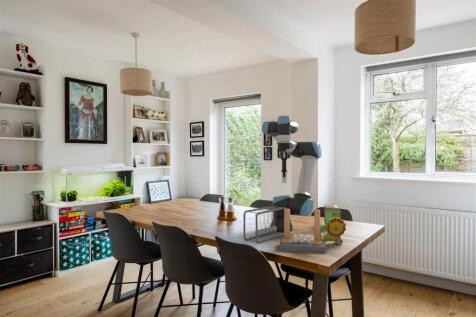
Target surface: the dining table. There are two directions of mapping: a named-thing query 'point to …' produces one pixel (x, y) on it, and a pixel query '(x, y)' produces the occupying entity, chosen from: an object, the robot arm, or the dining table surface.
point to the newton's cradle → (265, 230)
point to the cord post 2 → (317, 228)
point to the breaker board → (302, 247)
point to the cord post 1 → (287, 227)
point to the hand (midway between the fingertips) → (284, 182)
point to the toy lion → (333, 230)
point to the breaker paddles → (302, 239)
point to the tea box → (331, 212)
